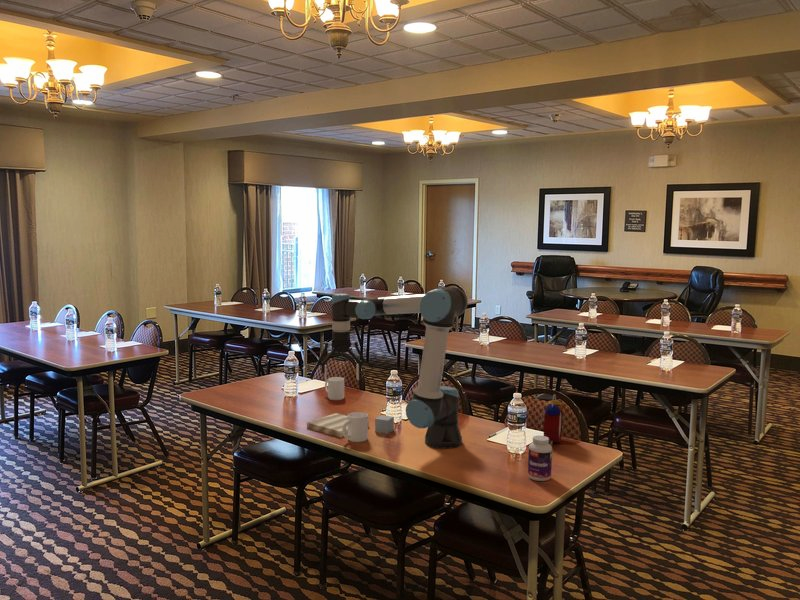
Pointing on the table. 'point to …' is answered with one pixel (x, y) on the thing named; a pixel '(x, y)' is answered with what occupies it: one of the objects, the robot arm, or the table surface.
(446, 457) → the table surface
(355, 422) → the mug
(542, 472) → the pill bottle
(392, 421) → the grey cube
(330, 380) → the cup
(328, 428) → the birch slab
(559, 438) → the red spray bottle
